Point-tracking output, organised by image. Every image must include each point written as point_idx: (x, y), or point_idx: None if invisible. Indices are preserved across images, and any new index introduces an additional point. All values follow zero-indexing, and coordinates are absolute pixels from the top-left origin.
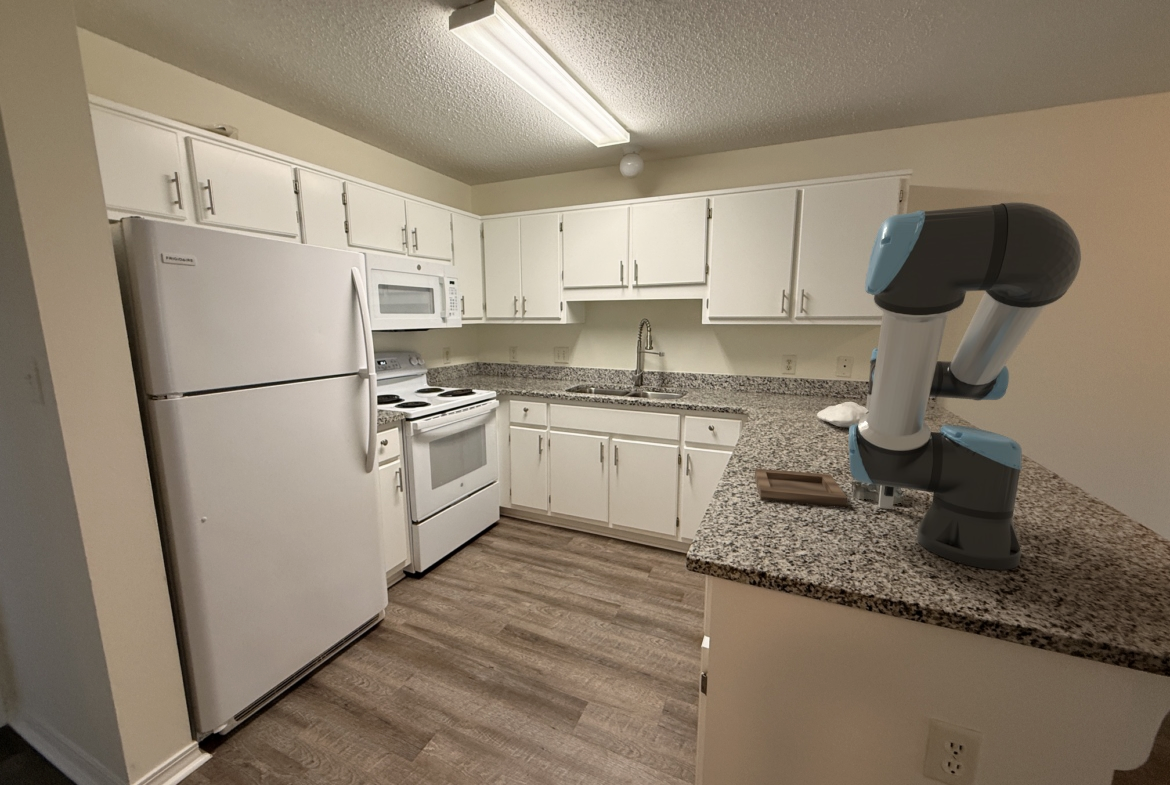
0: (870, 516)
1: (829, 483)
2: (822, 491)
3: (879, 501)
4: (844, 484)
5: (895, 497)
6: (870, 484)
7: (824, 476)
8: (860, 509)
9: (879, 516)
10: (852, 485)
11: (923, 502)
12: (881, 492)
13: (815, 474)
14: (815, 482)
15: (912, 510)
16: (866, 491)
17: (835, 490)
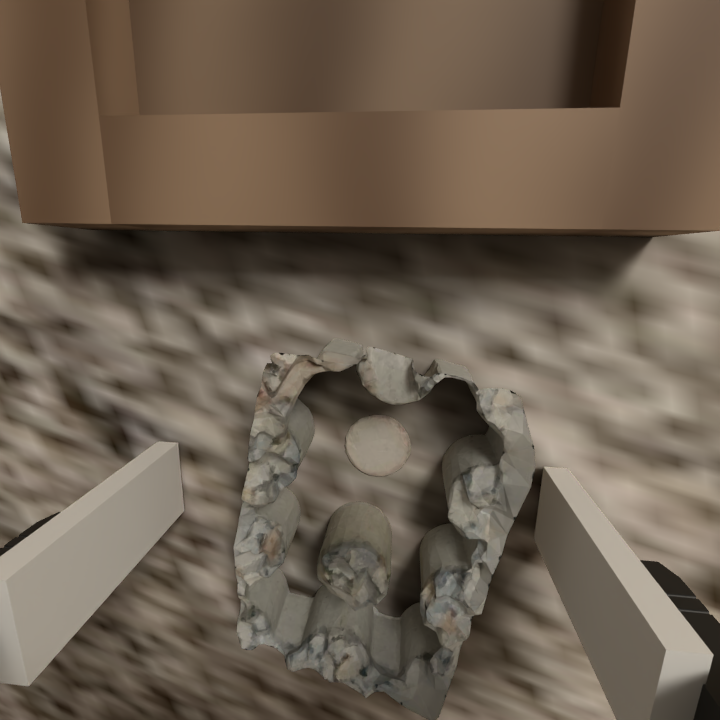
0: (13, 342)
1: (382, 143)
2: (326, 86)
3: (141, 461)
4: (637, 363)
5: (248, 589)
6: (455, 525)
7: (629, 139)
8: (107, 318)
9: (36, 395)
10: (413, 371)
11: (351, 710)
12: (76, 505)
13: (704, 33)
14: (587, 63)
15: (202, 604)
16: (296, 439)
17: (177, 156)
